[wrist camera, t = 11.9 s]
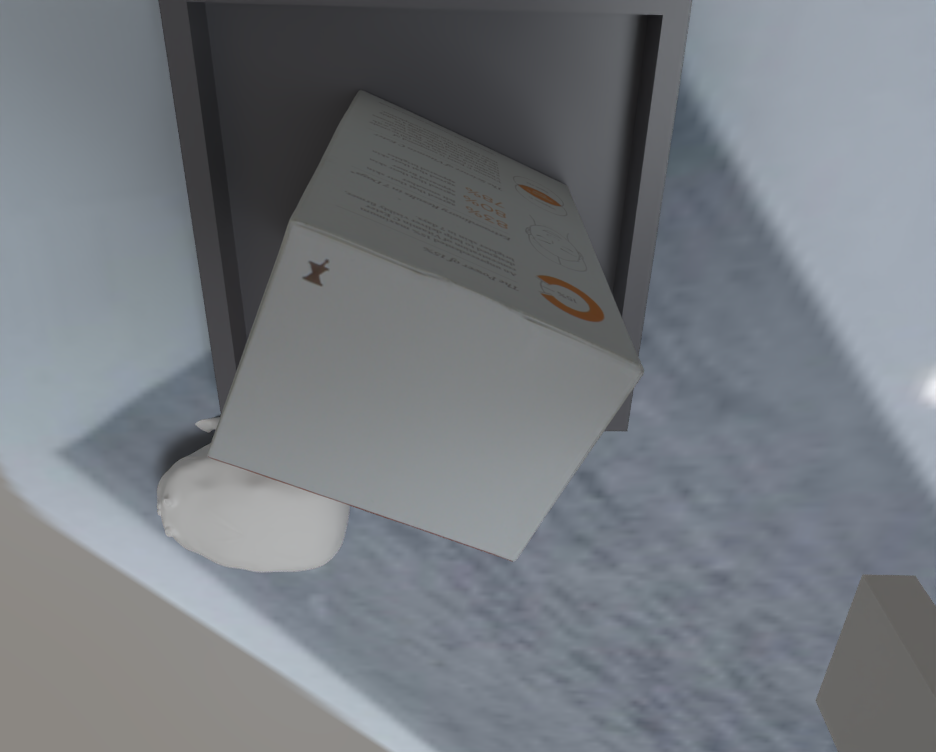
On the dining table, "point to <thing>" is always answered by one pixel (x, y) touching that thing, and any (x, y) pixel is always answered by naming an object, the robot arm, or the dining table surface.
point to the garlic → (247, 516)
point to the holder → (429, 96)
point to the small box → (429, 337)
